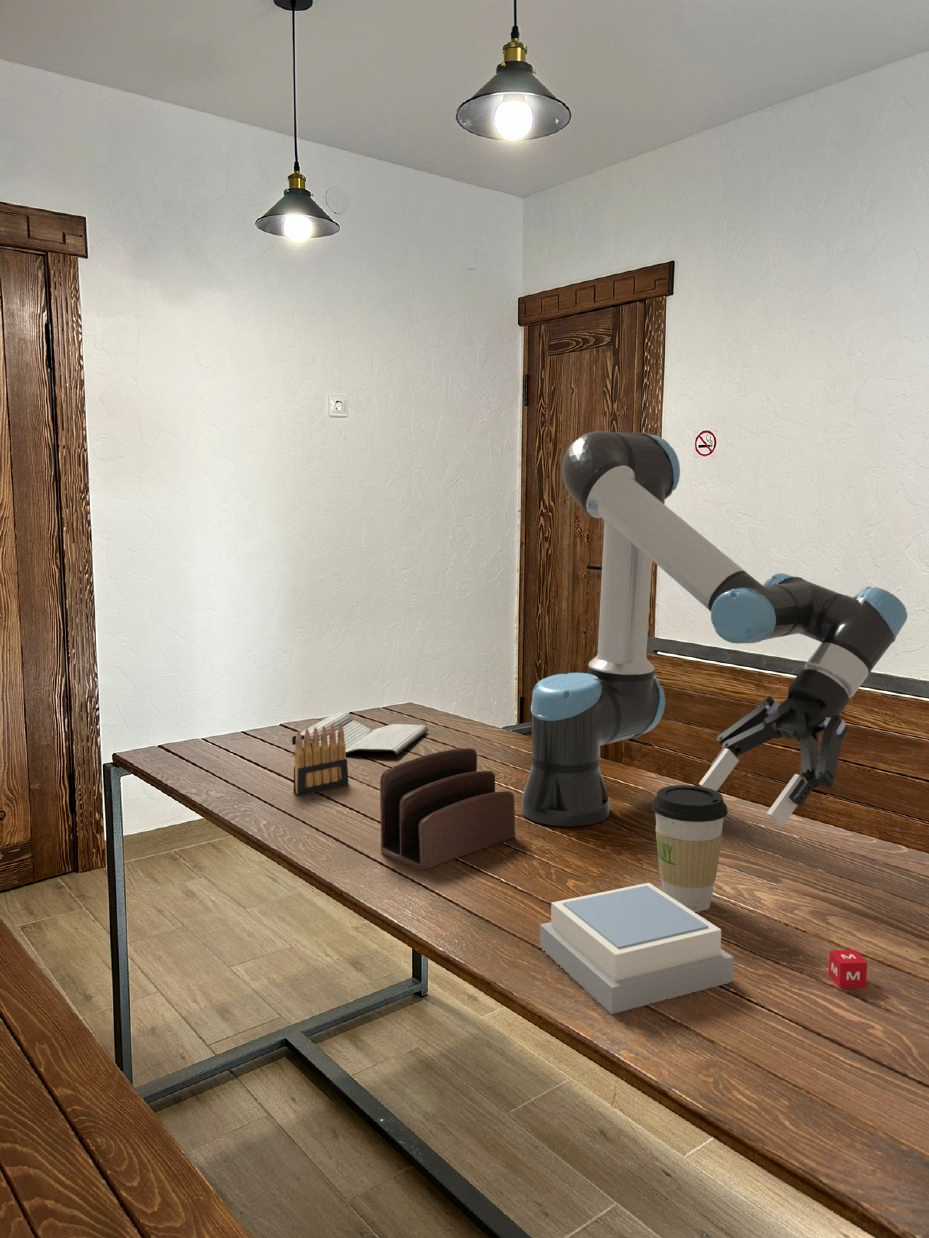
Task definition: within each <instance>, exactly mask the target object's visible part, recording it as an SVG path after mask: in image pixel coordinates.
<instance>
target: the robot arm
mask: <svg viewBox="0 0 929 1238" xmlns="http://www.w3.org/2000/svg"><path fill="white" fill-rule="evenodd" d="M561 475H562V480H563V481H562V482H563V484H564V486H565V488H566V490H567V492H568V494H569V495H570V496H571V498H572V499H573V500H574V501H575V502H576V503H577V505H579V506H580V507H581V508H582V509H583V510H584V511H585V512H586V513H588V515H590V516H591V517H592V518H595V519H601V518H602V519H603V521H604V524H603V525H604V526H603V543H602V544H603V545H602V546H603V547H602V564H601V580H600V581H601V582H600V602H599V620H598V621H599V622H598V639H597V640H598V641H597V654H596V656H595V657H593V658H592V659H591V660H590V661H588V669H587V670H588V671H587V673H586V672H585V673H584V672H568V673H557V674H553V675H550V676H547V677H545V678H543V679H541V680H539V681H538V682H537V683H536V684H535V686H534V687H533V688H532V689H533V690H532V696H531V697H532V698H531V699H532V700H531V703H530V704H531V705H530V711H531V714H530V715H531V716H530V717H531V719H530V720H531V768H530V771H529V774H528V777H527V781H526V784H525V787H524V790H523V793H522V795H521V802H520V803H521V810H520V811H521V814H522V815H523V816H524V817H525V818H527V819H529V820H530V821H533V822H536V823H538V824H544V825H549V826H554V827H555V826H557V827H583V826H589V825H594V824H598V823H600V822H603V821H605V820H606V819H607V818H608V817H609V816H610V798H609V795H608V791H607V789H606V786H605V783H604V779H603V776H602V772H601V767H600V765H601V764H600V759H601V746H605V745H609V744H612V743H617V742H620V741H623V740H631V739H636V738H638V737H640V736H642V735H643V734H646V733H648V732H650V731H651V730H653V729H654V728H655V727H656V726H658V724H659V723H660V721H661V719H662V717H663V715H664V711H665V707H666V698H665V697H666V696H665V691H664V688H663V687H662V686H661V685H660V684H661V682H660V680H659V679H658V677H656V675H655V666H654V665H653V664H652V662H651V661H649V660H648V658H647V652H648V651H647V649H648V648H647V647H648V633H649V632H648V631H649V618H650V615H649V614H650V601H651V600H650V599H651V584H652V583H651V582H652V568H653V567H652V565H653V563H655V564H656V565H657V566H658V567H659V568H660V569H661V570H662V571H664V572H665V573H666V574H667V575H668V576H669V577H670V578H672V580H674V581H675V582H676V583H678V584H679V585H680V586H681V587H682V588H683V589H684V590H686V591H687V592H688V594H690V595H691V596H692V597H693V598H695V599H696V600H697V601H698V602H699V603H701V605H703V606H704V607H705V608H706V609H707V610H709V612H710V620H711V624H712V625H713V628H714V630H715V631H714V632H715V633H716V634H717V635H718V636H719V637H720V638H721V639H722V640H724V641H726V642H728V643H731V644H755V643H760V642H763V641H766V640H770V639H771V640H772V639H774V638H780V637H781V638H782V637H786V636H787V637H788V636H792V635H796V634H797V635H798V634H799V635H802V636H805V637H808V638H811V639H813V640H815V641H818V642H820V644H819V646H818V647H817V649H816V650H815V651H814V653H813V654H812V655H811V656H810V657H809V658H808V660H807V662H806V663H805V665H804V669H801V670H800V672H799V673H798V674H797V676H796V677H795V678H794V679H793V681H792V682H791V684H790V685H789V687H788V689H787V691H788V694H787V698H786V699H785V700H784V701H783V702H781V703H779V702H777V701H776V700H774V698H773V697H772V696H766V697H765V698H764V700H763V701H761V703H760V704H758V706H757V707H755V708H754V709H753V710H752V711H750V712H749V713H748V714H746V715H745V716H743V717H742V718H741V719H740V720H738V721H737V722H734V724H733V725H731V726H730V727H728V728H727V729H725V731H723V732H722V733H720V734H719V735H717V737H716V741H717V742H718V743H719V744H720V746H722V748H721V750H720V751H719V752H718V754H717V755H716V757H715V758H714V760H712V762H711V765H710V768H709V770H707V772H706V773H705V775H704V777H702V778H701V780H700V781H699V783H698V786H700V787H705V788H709V789H712V790H715V791H717V792H718V790H719V789H720V788H721V786H722V785H723V784H724V782H725V781H726V780H727V778H728V776H729V775H730V774H731V773H732V771H733V770H734V768H735V767H736V766H737V765H738V763H739V762H740V759H739V756H741V755H743V754H745V753H746V752H749V751H751V750H753V749H755V748H756V747H758V746H761V745H762V744H765V743H767V742H769V741H771V740H773V739H776V740H777V739H782V738H785V739H788V740H794V741H795V742H797V743H799V745H800V763H801V770H799V771H798V772H799V774H797V773H795V774H794V775H793V776H792V777H791V779H790V780H789V781H788V783H787V785H786V786H785V787H784V789H783V790H782V791H781V792H780V794H779V795H778V797H777V798H776V800H775V801H774V803H773V804H772V805H771V806H770V807H769V809H768V811H766V814H767V816H768V817H769V818H770V819H772V821H773V822H774V823H775V824H776V825H777V826H778V827H781V828H783V826H784V825H785V824H786V823H787V821H788V820H789V818H790V817H791V815H792V814H793V812H794V811H795V810H796V808H797V807H798V806H800V807H801V806H802V805H803V804H804V803H805V801H806V800H807V798H808V797H809V796H810V794H811V793H812V791H813V790H814V789H815V788H819V786H824V787H825V788H828V789H829V788H831V787H833V786H834V783H835V779H836V774H837V769H838V763H839V759H840V758H839V757H840V753H841V748H842V743H843V739H844V737H845V736H846V735H847V732H848V731H849V726H848V725H847V723H846V722H845V721H844V720H843V719H842V717H841V716H840V715H841V714H842V713H843V711H844V710H845V708H846V707H847V705H848V704H849V703H850V698H852V697H854V696H855V695H856V693H857V691H858V690H859V689H860V687H861V686H862V684H863V683H864V681H865V680H866V679H867V678H868V676H869V675H870V673H871V672H872V670H873V669H874V667H875V666H876V665H877V664H878V662H879V661H880V659H882V657H883V656H884V654H885V652H886V651H887V650H888V649H889V648H890V646H891V645H892V644H893V643H894V642H895V641H896V639H897V636H898V635H899V633H900V631H901V630H902V628H903V627H904V625H905V624H906V622H907V620H908V611H907V608H906V606H905V604H904V603H903V602H902V601H901V600H900V599H899V598H898V597H897V596H896V595H895V594H893V593H891V592H890V591H888V590H886V589H884V588H881V587H877V586H874V587H871V586H866V587H863V588H861V590H859V591H858V592H857V593H856V594H855V595H854V596H849V595H847V594H842V593H839V592H836V591H834V590H831V589H829V588H826V587H823V586H820V585H819V584H815V583H812V582H810V581H807V580H806V579H804V578H802V577H799V576H794V575H790V574H787V573H775V574H774V575H772V576H771V578H769V579H767V580H766V581H765V583H763V584H761V583H760V582H759V581H758V580H756V579H755V578H754V577H753V576H752V575H750V574H749V573H748V572H747V571H745V569H743V568H742V567H741V566H740V565H738V564H737V563H736V562H735V561H734V560H733V559H731V558H730V557H729V556H727V555H726V553H724V552H723V551H722V550H720V549H719V548H718V547H717V546H715V545H714V543H711V542H710V541H709V540H708V539H707V538H706V537H704V536H703V535H702V534H701V533H700V532H698V531H697V530H696V529H695V528H693V527H692V526H691V525H690V524H689V523H687V522H686V521H685V520H684V519H683V518H681V516H679V515H677V514H676V513H675V512H674V511H673V510H672V509H671V508H670V507H668V506H667V505H666V504H665V500H666V499H668V498H669V497H670V496H671V495H673V492H674V491H676V489H677V487H678V485H679V481H680V477H681V476H680V475H681V466H680V461H679V458H678V455H677V453H676V451H675V449H674V448H673V447H672V446H671V445H670V443H669V442H668V441H667V440H665V439H664V438H662V437H660V436H657V435H653V434H649V433H643V432H623V431H622V432H621V431H605V430H594V431H591V432H587V433H585V434H583V435H581V436H579V437H578V438H577V439H576V440H574V441H573V442H572V443H571V445H569V447H568V448H567V450H566V452H565V454H564V457H563V460H562V464H561ZM821 732H823V734H822V739H821V744H820V740H819V739H820V738H819V737H820V736H819V734H820V733H821ZM820 745H821V746H820ZM819 747H820V750H819ZM818 750H819V751H818Z"/></svg>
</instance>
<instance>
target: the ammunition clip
mask: <svg viewBox="0 0 929 1238" xmlns="http://www.w3.org/2000/svg"><path fill="white" fill-rule="evenodd" d="M305 730H306V731H305V736H304V739H303V740H302V738H301V734H300V732H301V731H300V730H299V729H298V730H297V732H296V734H295V735H296V745H294V746H295V747H294V749H295V750H294V766H293V794H295V795H296V796H299V797H300V796H305V795H309V794H314V793H318V792H322V791H328V790H331V789H337V788H341V787H344V786H349V785H350V784H349V771H348V770H349V769H348V758H347V757H346V756H347V754H346V750H345V741H344V730H343V726H342V724H341V723H340V724H339V727H338V742H337V744H336V734H335V729H334V726H333V724H332V725H331V727H330V734H329V748H328V741H327V732H326V728H325V726H323V728H322V732H321V746H320V745H319V735H318V731H317V728H316V727H315V728H314V731H313V743H311V742H312V741H311V740H310V734H309V731H308V729H307V728H306V729H305Z"/></svg>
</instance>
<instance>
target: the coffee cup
mask: <svg viewBox="0 0 929 1238" xmlns="http://www.w3.org/2000/svg"><path fill="white" fill-rule="evenodd" d="M651 809H652V811H653V812H654V813H655V824H656V825H655V829H654V830H655V839H656V849H657V860H658V870H659V877H660V879H661V880H660V881H661V889H662V890H661V891H662V892H664V893H666V894H667V895H669V896H670V897H672V898H673V899H675V900H676V901H678V902H679V903H681V904H682V905H684V906H686V907H687V908H689V909H690V910H692V911H693V912H697V913H700V912H699V911H703V910H705V911H707V910H709V909H710V908H711V904H712V898H713V891H714V885H715V884H714V883H716V878H717V874H718V873H717V871H718V865H719V859H720V854H721V853H720V852H721V847H722V839H723V835H724V834H723V826H724V820H725V819H724V818H725V817H726V816H727V815H728V813H729V811H728V806H727V804H726V803H725V801H724V796H723V795H722V794H721V793H720V791H719V792H718V790H717V791H715V790H712V789H709V788H705V787H701V786H700V785H691V784H689V785H688V784H676V785H675V784H674V785H669V786H663V787H662V788H660V789H658V790H657V793H656V796H655V798H654V799H653V800H652V804H651ZM703 912H704V911H703Z"/></svg>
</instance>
